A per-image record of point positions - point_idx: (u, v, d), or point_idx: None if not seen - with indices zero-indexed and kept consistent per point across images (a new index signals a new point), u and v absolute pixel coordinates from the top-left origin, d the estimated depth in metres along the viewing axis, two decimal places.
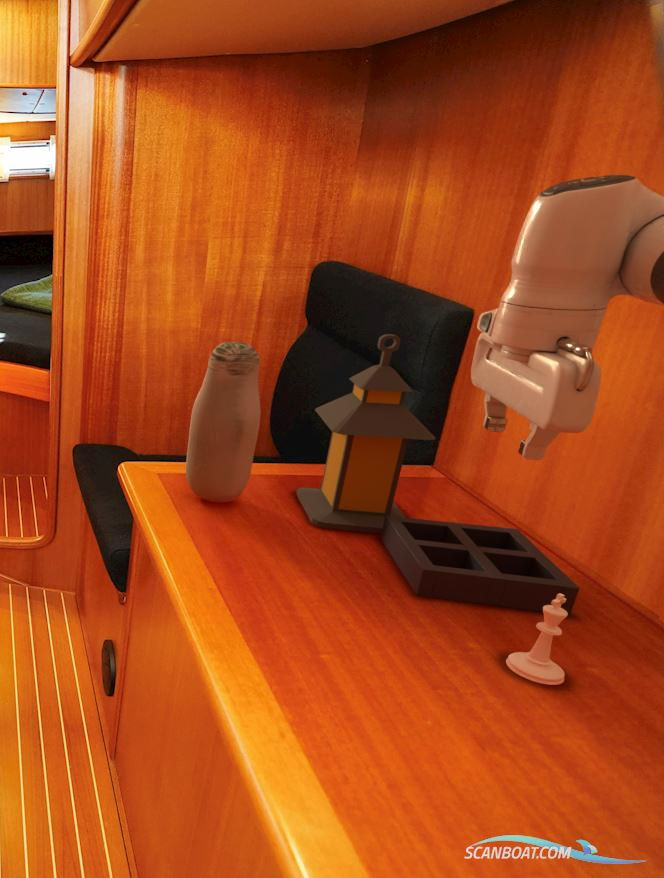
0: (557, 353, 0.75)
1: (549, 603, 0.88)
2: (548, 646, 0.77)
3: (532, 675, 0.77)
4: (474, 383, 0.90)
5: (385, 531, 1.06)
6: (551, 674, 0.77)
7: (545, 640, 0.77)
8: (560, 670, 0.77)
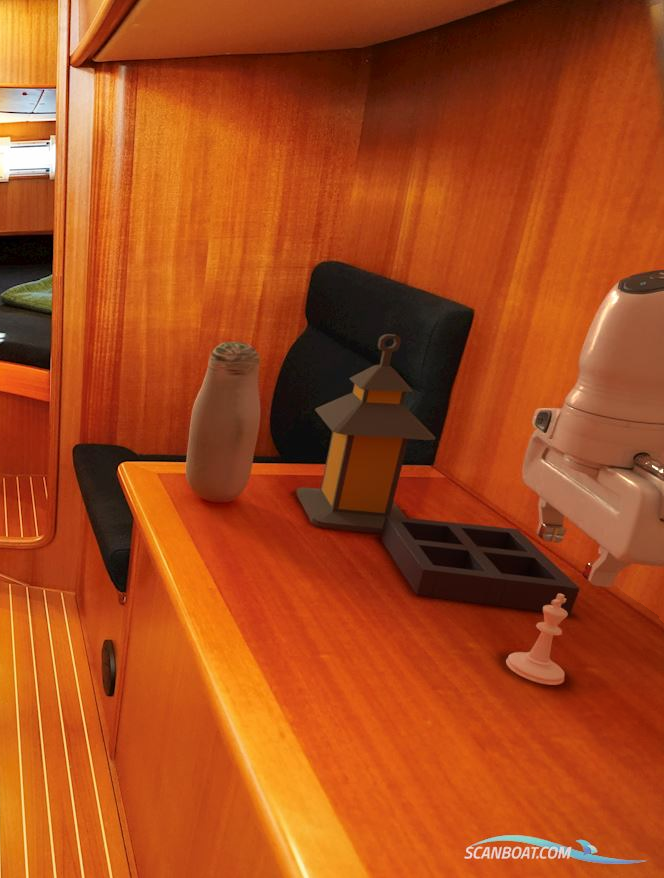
0: (634, 471, 0.66)
1: (549, 603, 0.88)
2: (548, 646, 0.77)
3: (532, 675, 0.77)
4: (527, 483, 0.80)
5: (385, 531, 1.06)
6: (551, 674, 0.77)
7: (545, 640, 0.77)
8: (560, 670, 0.77)
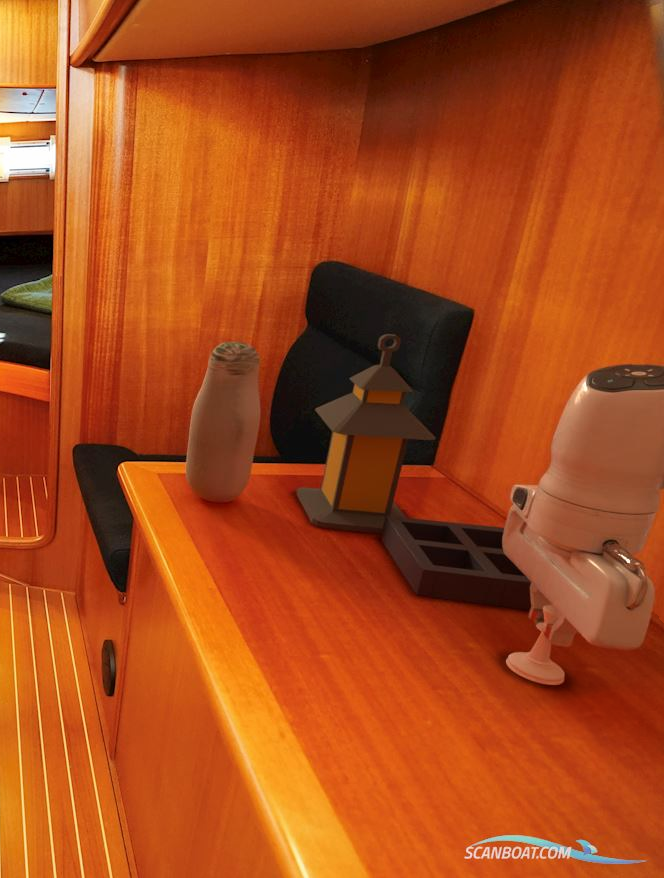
0: (603, 557, 0.69)
1: None
2: (548, 646, 0.77)
3: (532, 675, 0.77)
4: (506, 553, 0.83)
5: (385, 531, 1.06)
6: (551, 674, 0.77)
7: (545, 640, 0.77)
8: (560, 670, 0.77)
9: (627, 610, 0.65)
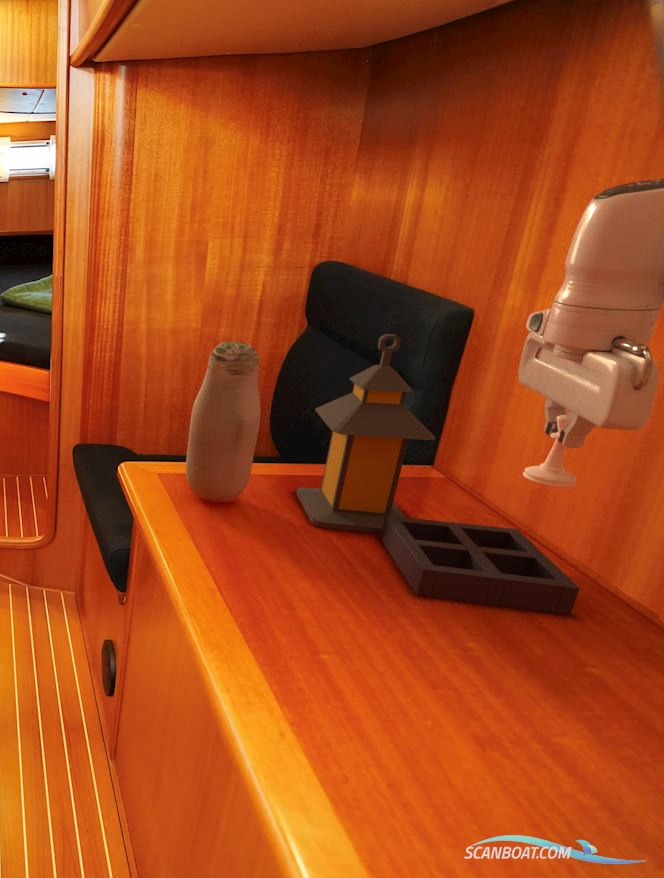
0: (612, 352, 0.77)
1: (549, 603, 0.88)
2: (561, 453, 0.85)
3: (547, 479, 0.85)
4: (522, 381, 0.91)
5: (385, 531, 1.06)
6: (564, 477, 0.85)
7: (559, 447, 0.85)
8: (572, 475, 0.86)
9: (634, 390, 0.74)
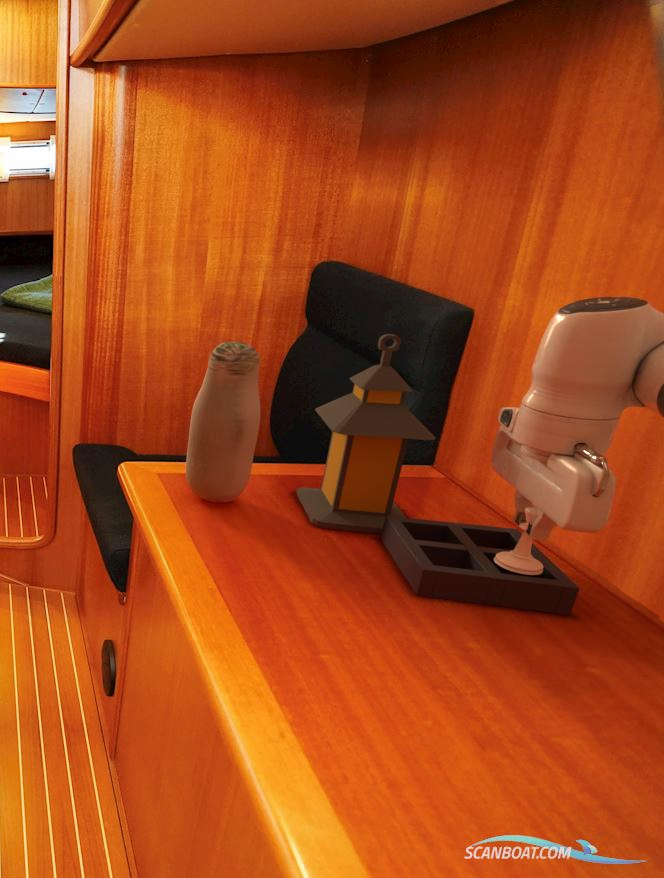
0: (574, 457, 0.82)
1: (549, 603, 0.88)
2: (529, 542, 0.90)
3: (516, 567, 0.90)
4: (495, 469, 0.96)
5: (385, 531, 1.06)
6: (532, 566, 0.90)
7: (527, 537, 0.90)
8: (539, 563, 0.91)
9: (593, 497, 0.79)
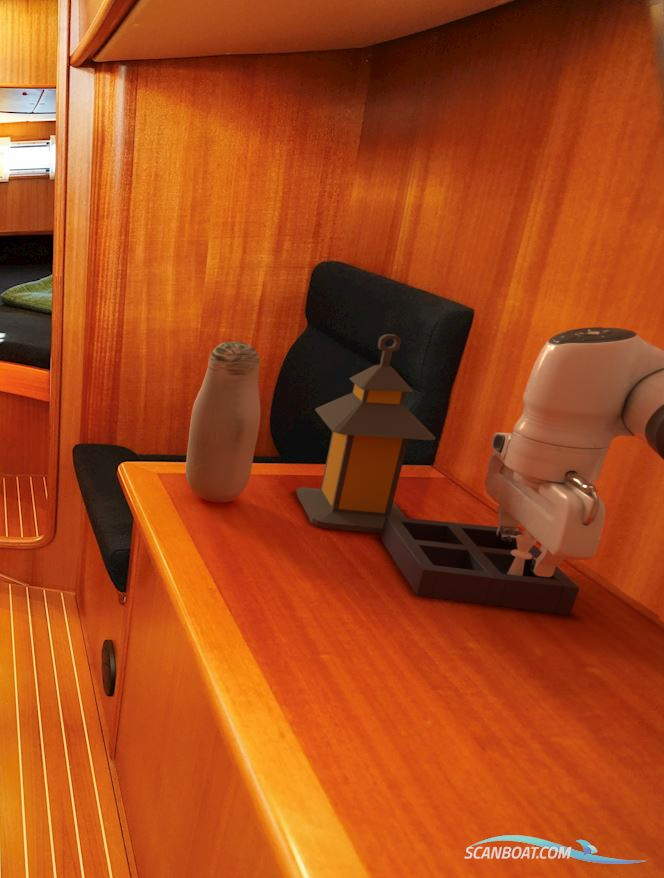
0: (565, 485, 0.83)
1: (549, 603, 0.88)
2: (521, 569, 0.92)
3: None
4: (488, 493, 0.98)
5: (385, 531, 1.06)
6: None
7: (518, 564, 0.92)
8: None
9: (583, 525, 0.80)
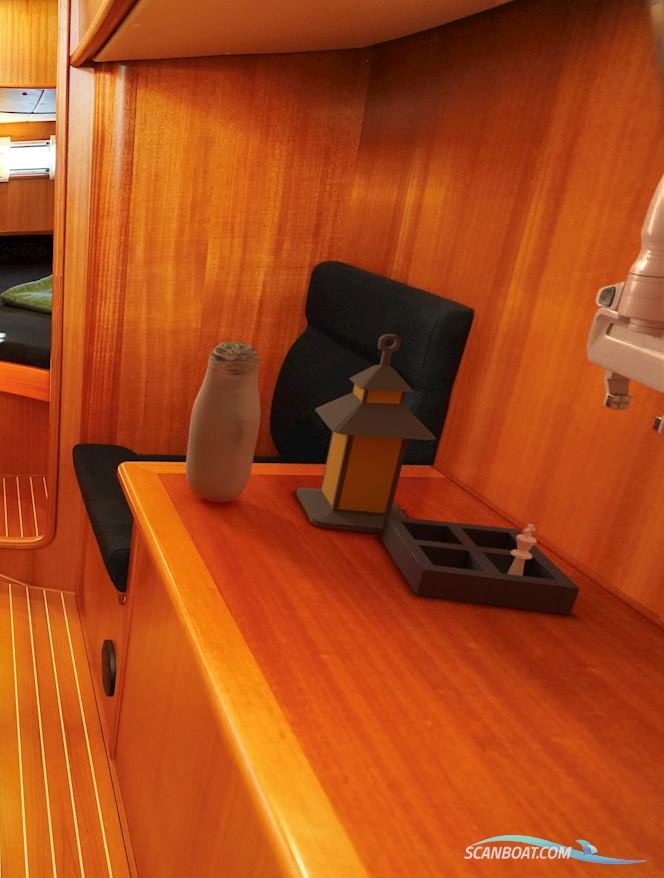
0: None
1: (549, 603, 0.88)
2: (521, 569, 0.92)
3: None
4: (592, 360, 0.87)
5: (385, 531, 1.06)
6: None
7: (518, 564, 0.92)
8: None
9: None
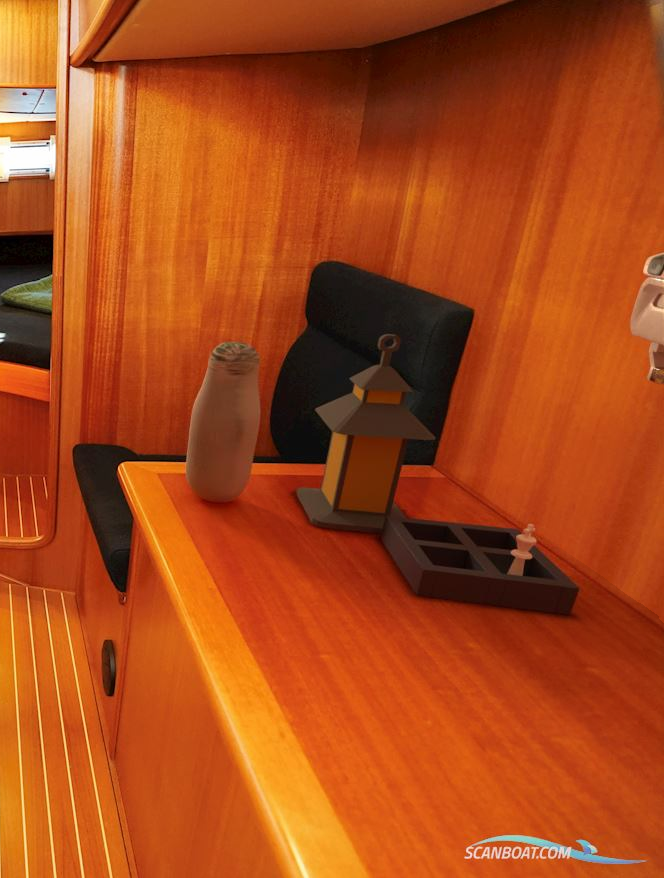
0: None
1: (549, 603, 0.88)
2: (521, 569, 0.92)
3: None
4: (636, 333, 0.84)
5: (385, 531, 1.06)
6: None
7: (518, 564, 0.92)
8: None
9: None
